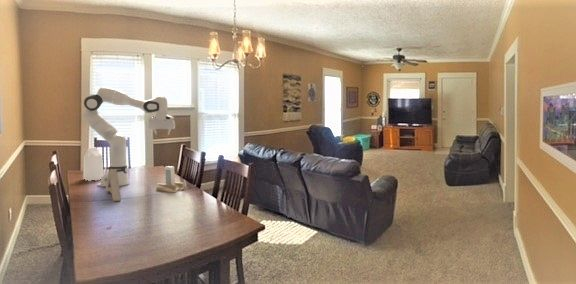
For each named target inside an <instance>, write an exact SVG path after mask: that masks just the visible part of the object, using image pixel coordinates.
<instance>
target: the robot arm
mask: <svg viewBox="0 0 576 284" xmlns="http://www.w3.org/2000/svg"><path fill="white" fill-rule="evenodd" d="M96 92H97V93H96V94H89V95H87V96H85V97H84V100H83V107H84V108H85V111H84V112H83V113H82V115H81V117H82V119H83V121H85V123H87V125H88V126H89V127H90V128H91V129H92V130H93V131H95V132H96V134H98V135H99V136H100V137H101V138H103V140H104V141H106V142H108V144H109V147H110V148H109V149H110V151H109V152H110V153H109V154H110V155H109V157H110V159H109V161H110V166H109V167H107V170H108V171H107V172H106V173H104V175H103V176H102V177H101V180H100V182H98V183H97V187H106V185H107V180H108V175H109V169H117V174H118V182H119V187H121V186H127V185H130V180H129V175H128V165H127V138H126V136H124V135H123V134H122V133H121V132H120V131H119V130H118V129H116V127H114V126H113V125H112V124H111V123H110V122H109V121H108V120H107V119H106V118H105V117H103V116H102V114H100V113H99V111H98V109H100V107H101V105H102V104H103V103H108V104H112V105H114V106H115V105H116V106H131V107H133V108H138V109H140V110H142V111H143V112H144V113H147V114H151V113H154V112H155V116H150V117H149V118H148V129H150V130H153V133H154V136H155V135H156V136H158V132H157V130H168V131H167V132H166V135H167V136H170V133H171V130H175V129H176V122H175V120H174V119H175V117H174V116H172V115H169V114H168V100H167V98H166V97H165V96H160V95H156V96H155V97H153V98H151V99H146V100H141V99H138V98H134V97H131V96H129V95H128V94H127V93H125V92H124V91H122V90H119V89H115V88H112V87H107V86H106V87H104V86H103V87H100V88H99V89H98V90H97V91H96Z"/></svg>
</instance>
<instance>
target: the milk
mask: <svg viewBox="0 0 576 284" xmlns="http://www.w3.org/2000/svg"><path fill="white" fill-rule="evenodd" d="M102 156H103V155H102V154H101V153H100V151H99V150H98V147H96V146H93V147H92V146H91V147H88V148H87V149H86V152H85V153H84V155H83V173H82V174H83V178H82V179H83V180H84V179H85V181H87V180H88V181H87V182H92V181H91V180H95V181H101V180H100V179H101V177H102V176H103V175H104V174H105V173H104V163H103V157H102Z"/></svg>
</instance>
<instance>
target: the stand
mask: <svg viewBox="0 0 576 284" xmlns="http://www.w3.org/2000/svg"><path fill="white" fill-rule="evenodd" d="M155 186H156V187H155V191H161V192H169V193H170V192H171V193H175V192H179V190H180V191H182V190H185V183H184V182H181V181H180V182H179V181H178V182H177V181H175V185H170V184H165V181H164V183H156V185H155Z"/></svg>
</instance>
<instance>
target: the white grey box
mask: <svg viewBox="0 0 576 284" xmlns="http://www.w3.org/2000/svg"><path fill="white" fill-rule="evenodd" d="M175 173H176V172H175V166H173V165H171V166H170V165H168V166H165V167H164V178H165V179H164V182H165V184H170V185H175V182H176V179H175V178H176V174H175Z"/></svg>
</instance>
